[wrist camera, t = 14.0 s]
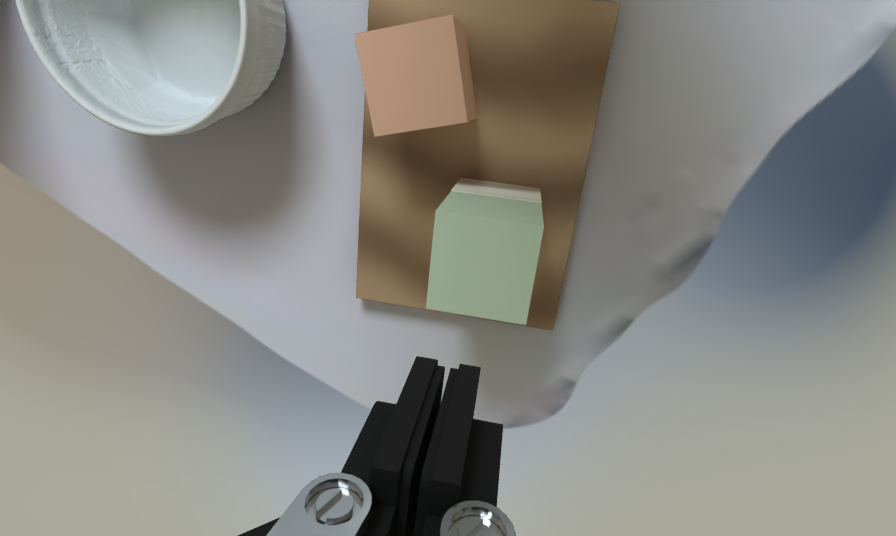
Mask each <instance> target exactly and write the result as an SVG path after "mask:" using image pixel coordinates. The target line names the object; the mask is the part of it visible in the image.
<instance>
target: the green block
mask: <svg viewBox="0 0 896 536" xmlns="http://www.w3.org/2000/svg"><path fill="white" fill-rule="evenodd" d="M543 230H544V222H543V213H542V203H537V202H530V201H523V200H515V199H508V198H501V197H494V196H487V195H479V194H472V193H465V192H458V191H451V192H450V193H449V194H448V196H447V197H446V198H445V199H444V201H443V202H442V203H441V205H440V206H439V207H438V208H437V210H436V211H435V221H434V231H433V241H432V251H431V261H430V271H429V281H428V291H427V301H426V309H432V310H438V311H444V312H450V313H456V314H462V315H468V316H474V317H480V318H486V319H492V320H498V321H504V322H510V323H516V324H522V325H526V323H527V317H528V312H529V306H530V301H531V295H532V290H533V284H534V279H535V273H536V268H537V263H538V257H539V252H540V246H541V241H542V235H543Z"/></svg>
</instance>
